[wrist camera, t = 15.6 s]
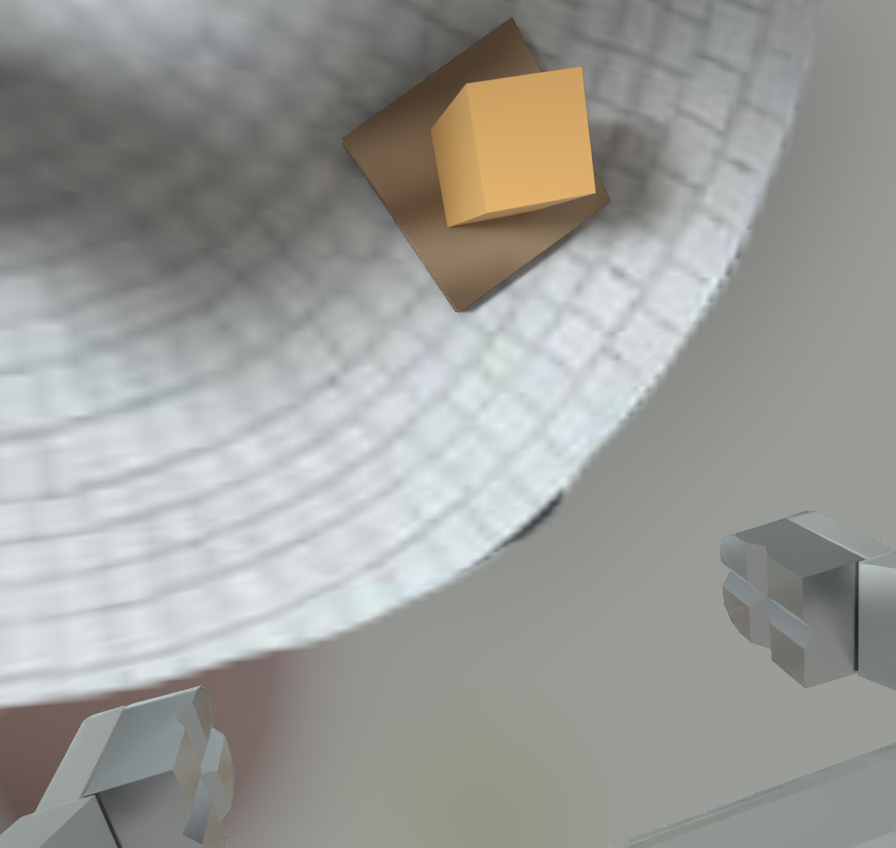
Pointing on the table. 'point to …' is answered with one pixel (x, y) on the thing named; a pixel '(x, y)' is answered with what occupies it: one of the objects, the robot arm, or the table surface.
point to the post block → (418, 187)
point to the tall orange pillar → (514, 146)
